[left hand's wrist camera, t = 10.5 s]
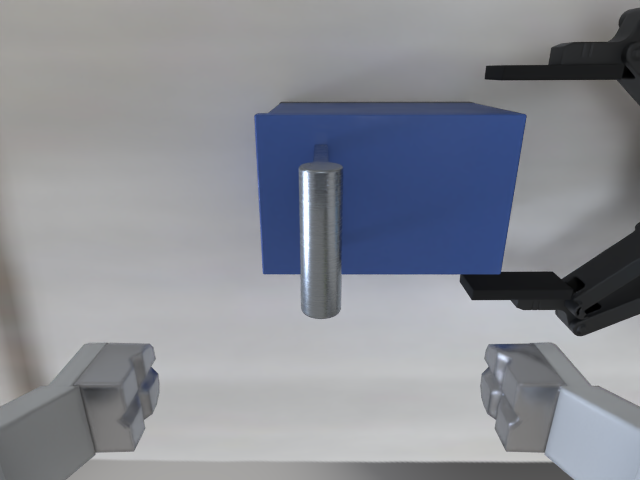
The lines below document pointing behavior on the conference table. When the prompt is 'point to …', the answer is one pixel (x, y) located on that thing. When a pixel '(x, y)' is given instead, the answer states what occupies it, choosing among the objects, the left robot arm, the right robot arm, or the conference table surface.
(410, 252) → the lid
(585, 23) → the conference table surface
